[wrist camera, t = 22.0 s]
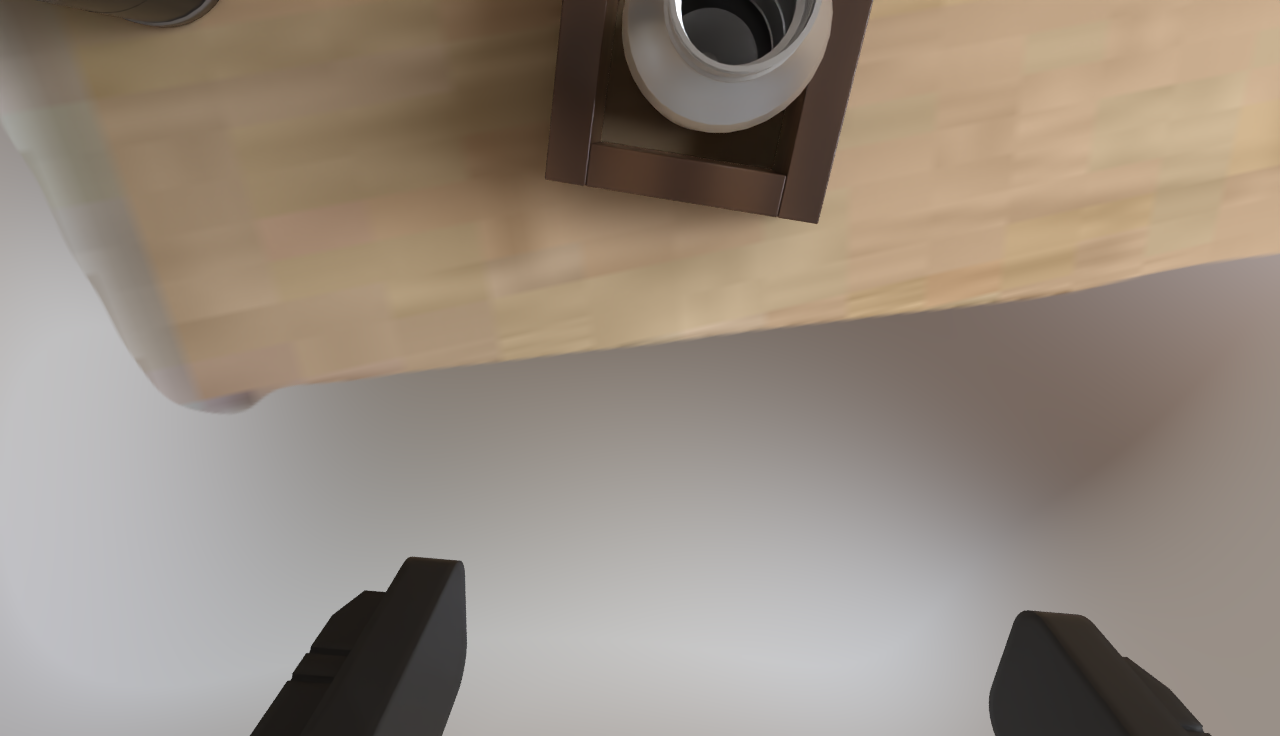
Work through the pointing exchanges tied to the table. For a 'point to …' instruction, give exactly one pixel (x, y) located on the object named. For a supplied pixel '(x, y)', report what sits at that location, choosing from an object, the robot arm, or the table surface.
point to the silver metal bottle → (724, 57)
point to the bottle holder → (687, 178)
